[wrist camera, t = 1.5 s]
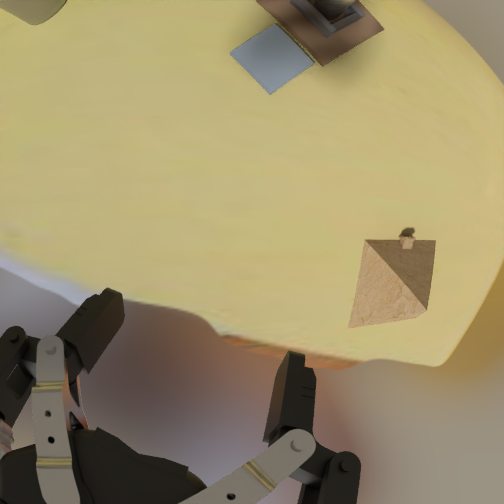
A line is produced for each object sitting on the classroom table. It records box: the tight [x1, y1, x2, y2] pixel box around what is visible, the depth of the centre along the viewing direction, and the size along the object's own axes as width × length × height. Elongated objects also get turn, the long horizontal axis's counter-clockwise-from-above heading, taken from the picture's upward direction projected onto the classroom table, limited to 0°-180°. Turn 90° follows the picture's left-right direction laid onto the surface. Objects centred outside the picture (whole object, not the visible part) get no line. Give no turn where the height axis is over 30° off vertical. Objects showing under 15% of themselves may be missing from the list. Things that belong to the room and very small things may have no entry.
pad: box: [230, 24, 314, 95], centre depth 30 cm, size 8×8×1 cm
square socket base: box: [256, 0, 384, 67], centre depth 27 cm, size 14×14×3 cm
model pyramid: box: [348, 235, 436, 328], centre depth 40 cm, size 17×17×10 cm
